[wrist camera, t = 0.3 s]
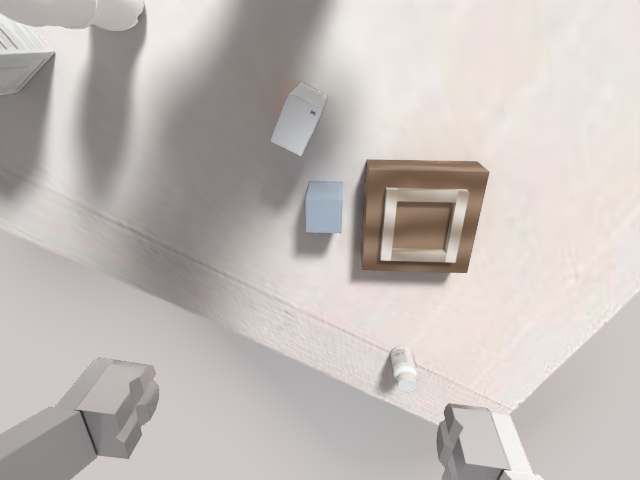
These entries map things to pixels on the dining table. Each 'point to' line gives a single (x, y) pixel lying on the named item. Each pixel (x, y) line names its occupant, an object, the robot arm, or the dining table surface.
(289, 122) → the skincare box
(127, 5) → the water bottle
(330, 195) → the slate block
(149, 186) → the dining table surface
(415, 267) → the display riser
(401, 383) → the pill bottle
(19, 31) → the supplement box
